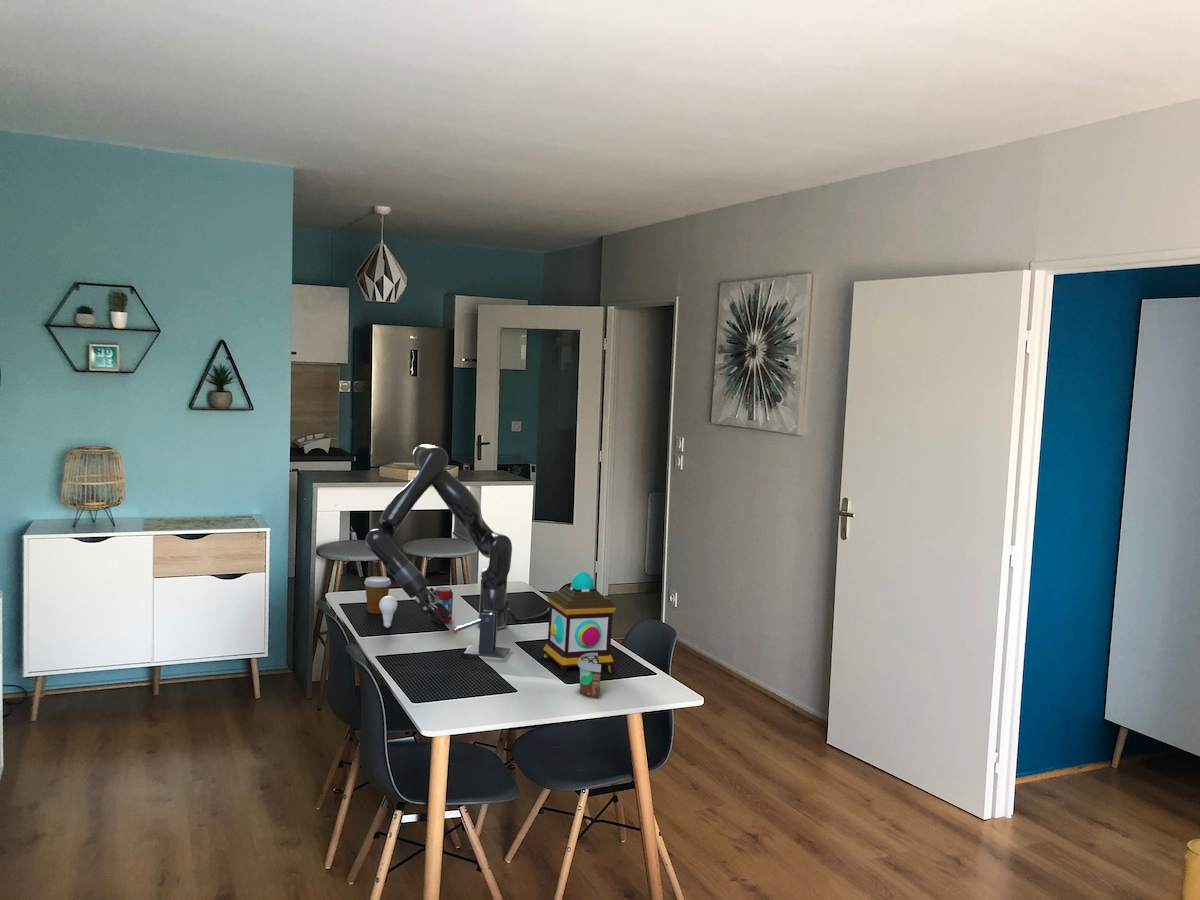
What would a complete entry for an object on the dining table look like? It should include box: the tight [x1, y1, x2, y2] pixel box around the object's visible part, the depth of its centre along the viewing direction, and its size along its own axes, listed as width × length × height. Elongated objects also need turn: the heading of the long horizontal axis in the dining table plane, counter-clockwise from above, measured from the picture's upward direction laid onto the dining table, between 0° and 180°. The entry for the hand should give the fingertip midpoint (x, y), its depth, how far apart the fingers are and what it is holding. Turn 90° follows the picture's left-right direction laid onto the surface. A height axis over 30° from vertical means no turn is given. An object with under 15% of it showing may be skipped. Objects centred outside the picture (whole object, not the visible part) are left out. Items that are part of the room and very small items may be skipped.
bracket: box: [462, 610, 511, 659], centre depth 298 cm, size 13×10×14 cm
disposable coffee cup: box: [363, 576, 392, 614], centre depth 343 cm, size 10×10×12 cm
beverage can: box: [432, 586, 454, 624], centre depth 334 cm, size 7×7×12 cm
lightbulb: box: [379, 595, 398, 629], centre depth 322 cm, size 6×6×11 cm
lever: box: [452, 613, 493, 635], centre depth 298 cm, size 13×6×2 cm, turn 84°
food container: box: [577, 653, 602, 699], centre depth 269 cm, size 12×6×10 cm, turn 5°
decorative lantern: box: [542, 570, 617, 674], centre depth 292 cm, size 20×20×30 cm
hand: (444, 618), depth 299 cm, fingers open, 8 cm apart
